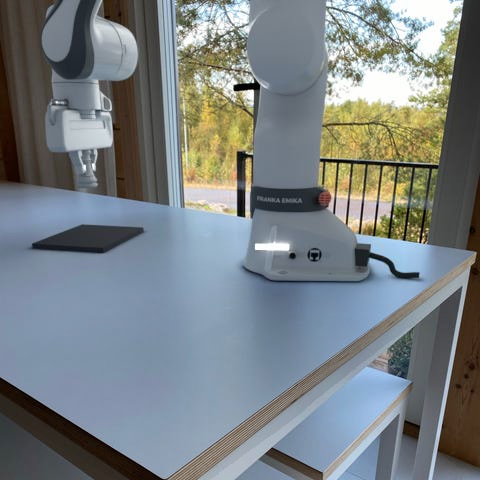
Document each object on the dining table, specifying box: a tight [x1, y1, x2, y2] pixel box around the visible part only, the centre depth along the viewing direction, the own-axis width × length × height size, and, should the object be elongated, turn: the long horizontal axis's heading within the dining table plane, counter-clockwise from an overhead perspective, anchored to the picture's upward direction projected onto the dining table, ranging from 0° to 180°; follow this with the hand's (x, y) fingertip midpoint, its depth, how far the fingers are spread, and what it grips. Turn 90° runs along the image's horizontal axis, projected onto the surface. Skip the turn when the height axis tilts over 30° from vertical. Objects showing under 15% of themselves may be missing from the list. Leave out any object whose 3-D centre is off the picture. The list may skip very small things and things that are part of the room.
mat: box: [31, 223, 145, 254], centre depth 105 cm, size 16×20×1 cm
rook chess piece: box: [75, 150, 99, 189], centre depth 99 cm, size 4×4×8 cm
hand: (86, 173), depth 99 cm, fingers closed on rook chess piece, 3 cm apart
